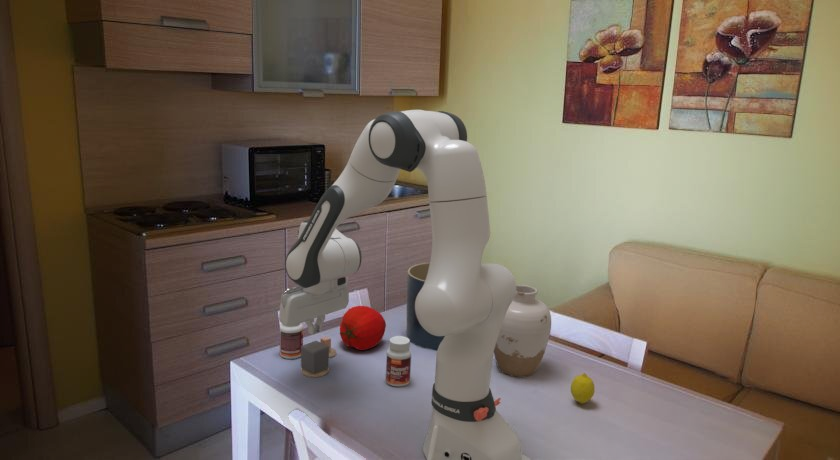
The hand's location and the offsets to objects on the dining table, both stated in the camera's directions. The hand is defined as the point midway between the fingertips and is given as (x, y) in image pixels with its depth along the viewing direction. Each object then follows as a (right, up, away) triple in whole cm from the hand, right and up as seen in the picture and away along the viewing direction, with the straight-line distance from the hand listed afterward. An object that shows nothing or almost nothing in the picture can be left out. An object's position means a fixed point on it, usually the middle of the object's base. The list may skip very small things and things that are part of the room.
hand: (314, 332), depth 155 cm
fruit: (+66, -16, -7) cm, 68 cm away
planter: (+33, -6, +29) cm, 44 cm away
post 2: (+1, -8, +13) cm, 15 cm away
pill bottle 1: (-8, -8, +11) cm, 16 cm away
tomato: (+10, -7, +19) cm, 23 cm away
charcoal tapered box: (0, -9, +2) cm, 10 cm away
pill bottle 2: (+21, -12, -1) cm, 25 cm away
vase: (+53, -12, +9) cm, 55 cm away
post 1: (0, -10, +2) cm, 11 cm away
